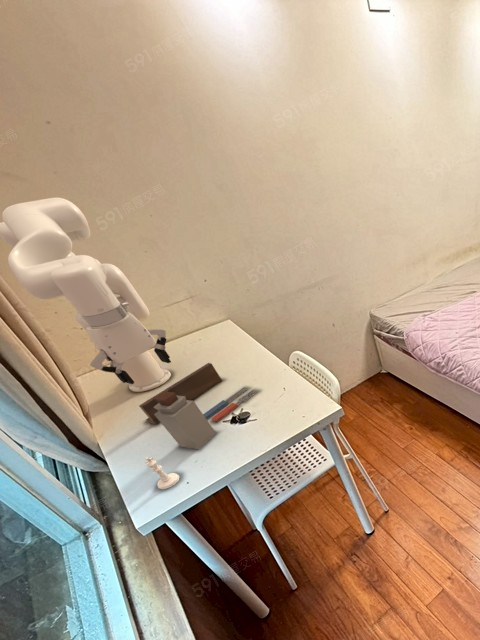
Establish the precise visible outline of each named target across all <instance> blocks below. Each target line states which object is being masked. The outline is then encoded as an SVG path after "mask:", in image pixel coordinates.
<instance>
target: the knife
mask: <svg viewBox="0 0 480 640" xmlns="http://www.w3.org/2000/svg"><path fill="white" fill-rule="evenodd" d="M248 390H249V388H248V387H243V388H241V389H239V390H238V391H236V392H235V393H234V394H233V395H231V396H230V397H229V398H227V399H226V400H221V401H220V402H218V403H217V404H216V405H214V406H213V407H211V408H210V409H209V410H207V411H206V412H205V413H202V414H203V415H204V417H205V418H206V419H207V420H208V419H211V418H212V416H213V417H214V416H215V415H216V414H218V413H219V412H220V411H222V410H223V409H225V408H226V407H227V406H229V405H230V404H231V403H232V402H233V401H234V400H235V399H237V398H238V397H239V396H241V395H243V394H244V393H245V392H246V391H248Z"/></svg>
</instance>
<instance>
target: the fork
mask: <svg viewBox="0 0 480 640" xmlns="http://www.w3.org/2000/svg"><path fill="white" fill-rule="evenodd" d="M258 392H259V391H257V390H254V389H252V390H250V391H249V392H248V393H246V394H245V395H243V396H242V397H240V398H239V399H238V400H239V401H237V402H236V403H234V402H231V403H229V404H228V405H227V406H225V407H224V408H223V409H221V410H220V411H218V412H217V413H216V414H214V415H213V417H210V419H211V421H212V422H215V423H218V422H220V421H221V420H222V419H224V418H225V417H226V416H228V415H229V414H230V413H232V412H233V411H235V410H236V409H237V408H238V407H239V405H241V404H242V403H243V402H244V403H246V402H247V401H248V400H249V399H251V398H252V397H253V396H255V395H256V394H257V393H258Z"/></svg>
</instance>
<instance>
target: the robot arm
mask: <svg viewBox="0 0 480 640" xmlns="http://www.w3.org/2000/svg"><path fill="white" fill-rule="evenodd" d="M1 218H2V221H1V222H0V239H2V240H3V242H4V243H6V244H7V245H9V246H10V247H12V249H11V250H10V252H9V254H8V257H7V263H8V266H9V268H10V270H11V272H12V273H13V275H14V276H15V277H16V279H17V281H18V282H19V283H20V284H21V286H22V287H23V288H24V290H26V292H28V293H29V294H30V295H31V296H33V297H34V298H37V299H39V300H52V299H53V300H54V299H57V298H60V297H63V296H64V297H65V298H66V299H67V300H68V301H69V302H70V304H71V305H72V307H74V308H75V310H76V311H77V312H76V314H75V319H76V321H77V323H78V324H79V325H80V326H81V327H82V328H83V329H84V330H85V331H86V332H87V333H88V335H89V338H90V339H91V341H92V342H93V344H94V346H95V347H96V349H97V350H98V351H99V352H98V354H97V355H96V356H94V358H93V360H92V361H91V362H90V363H89V366H90V367H91V368H95V369H97V370H99V371H102V372H105V373H113V374H114V375H115V376H116V377H117V378H118V379H119V381H120V382H122V383H123V384H128V389H130V391H132V392H136V393H141V392H142V393H143V392H147V391H150V390H153V389H156V388H158V387H159V386H161V385H163V384H165V383H166V382H167V381H169V380H170V378H171V377H172V372H170V370H168V369H166V368H161V367H160V365H159V363H158V362H157V360H156V359H155V358H154V357H153V356H152V354H151V353H150V351H149V350H151V349H153V351H154V353H155V354H156V356H157V357H158V358H159V360H160V361H161V362H162V363H165V364H171V363H172V361H171V359H170V358H171V357H170V355H169V354H168V352H167V351H166V343H167V338H166V336H167V335H166V334H167V333H166V330H165V329H162V328H161V329H160V328H158V329H157V328H155V329H154V328H153V329H147V327H146V326H145V325H144V324H143V323H142V322H143V321H145V320H147V319H149V318H150V316H151V313H150V310H149V308H148V306H147V305H146V303H145V302H144V300H143V299H142V297H141V296H140V294H139V293H138V292H137V290H136V289H135V288H134V286H133V285H132V283H131V281H130V280H129V279H128V277H127V276H126V275H125V274H124V272H123V271H122V270H121V269H120V268H119V267H117V266H116V265H114V264H112V263H101V262H100V261H99V260H98V259H97V258H94V257H93V256H90V255H88V254H78V255H76V254H75V252H73V251H72V250H73V243H76V242H82V241H85V240H87V239H89V238H91V235H92V233H91V228H90V226H89V225H90V224H89V222H88V219H87V218H86V216H85V214H84V213H83V212H82V210H81V209H80V208H79V207H78V206H77V205H75V203H73V202H72V201H70V200H68V199H66V198H62V197H48V198H44V199H37V200H30V201H26V202H20V203H15V204H12V205H9V206H7V207H6V208H4V210H3V211H2V215H1ZM116 295H117V296H116ZM154 335H155V336H157V339H155V338H154ZM105 360H106V361H108V362H109V366H107V365H104V364H103V363H104V361H105Z"/></svg>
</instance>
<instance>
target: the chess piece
mask: <svg viewBox="0 0 480 640" xmlns="http://www.w3.org/2000/svg"><path fill="white" fill-rule="evenodd" d="M144 463H145V464H146V466H147V467H149V468H151V472H152V473H157V475H158V477H159V478H160V479H159V480H158V481H157V484H156V486H157V488H158V489H160V490H167V489H170V488H171V487H173V486H174V485H176V484H177V483H178V482H179V480H180V475H179V474H177V473H175V472H171V473H166V472H165V471H163V470H162V469H163V466H162V465H160V464H159V465H158V462H157V459H154V458H153V457H152V456H151V457H147V456H146V457H145V461H144Z"/></svg>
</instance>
